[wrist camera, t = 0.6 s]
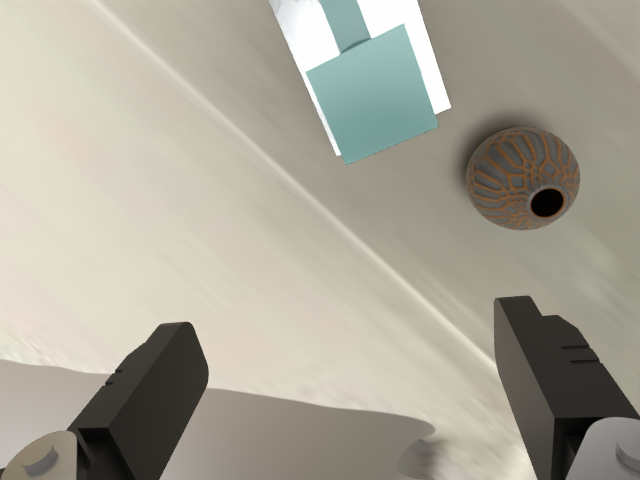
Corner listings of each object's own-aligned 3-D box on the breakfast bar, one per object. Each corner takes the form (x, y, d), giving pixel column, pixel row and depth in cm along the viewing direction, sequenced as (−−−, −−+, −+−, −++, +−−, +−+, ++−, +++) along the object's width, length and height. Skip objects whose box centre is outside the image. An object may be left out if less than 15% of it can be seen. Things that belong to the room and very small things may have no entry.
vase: (442, 150, 32) (466, 183, 24) (531, 101, 30) (589, 120, 22) (479, 221, 34) (512, 273, 26) (564, 180, 32) (628, 224, 24)
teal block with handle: (347, -131, 20) (338, -202, 14) (429, 111, 24) (447, 129, 19) (255, -73, 21) (214, -117, 16) (348, 146, 26) (342, 173, 20)
